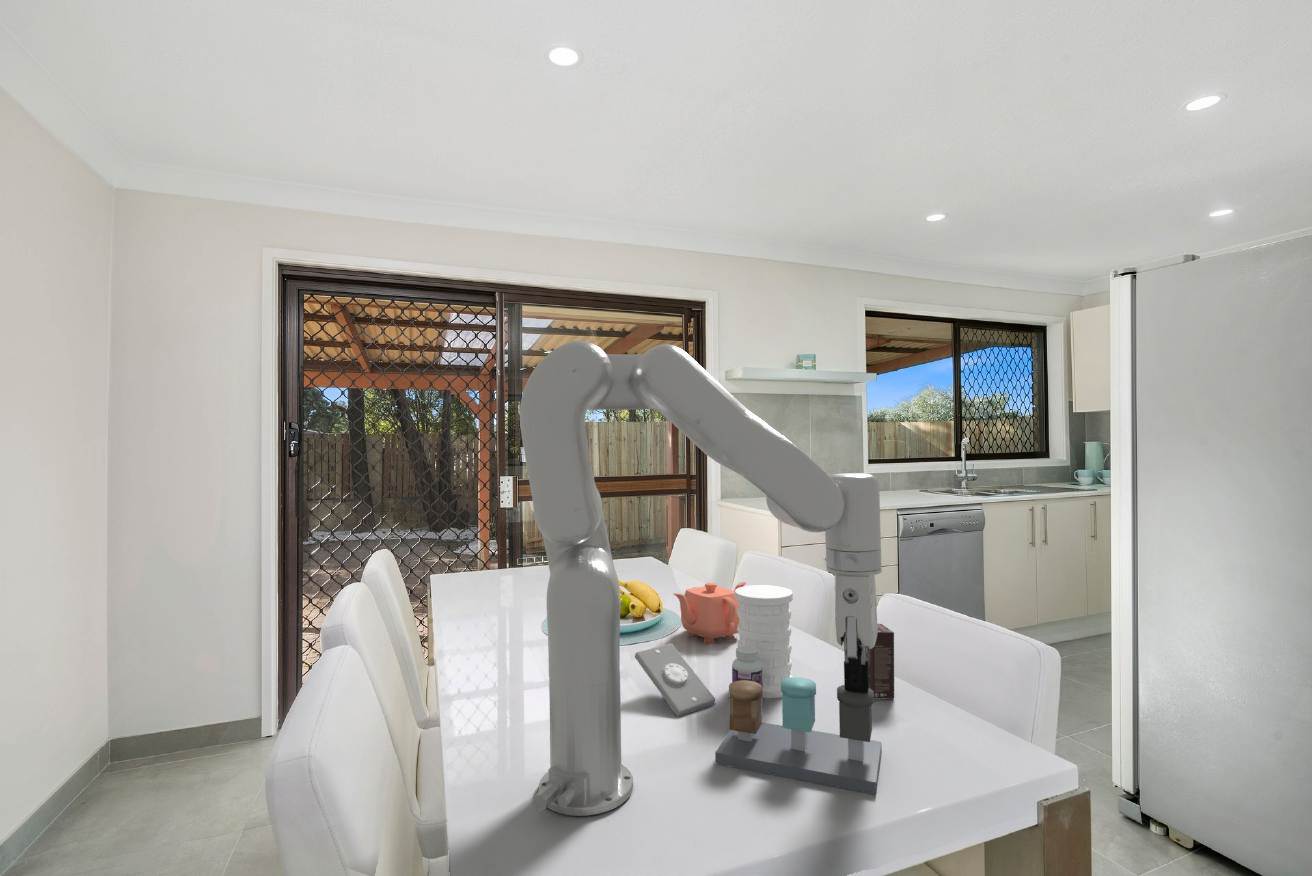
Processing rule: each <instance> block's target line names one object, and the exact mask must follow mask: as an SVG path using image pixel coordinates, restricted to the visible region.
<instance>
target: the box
mask: <svg viewBox="0 0 1312 876" xmlns="http://www.w3.org/2000/svg"><path fill="white" fill-rule="evenodd" d="M877 625H878V633H877V638H876V643H875V646H874V647H873V648H872V649H869V647H868V646H867V660H866V661H868V663H869V688H870V689H871V690H873V692H874V701H875V700H891V699H895V632H894V631H893V630H891V629H890V628H888V627H887V626H885V625H884V624H882V623H877Z"/></svg>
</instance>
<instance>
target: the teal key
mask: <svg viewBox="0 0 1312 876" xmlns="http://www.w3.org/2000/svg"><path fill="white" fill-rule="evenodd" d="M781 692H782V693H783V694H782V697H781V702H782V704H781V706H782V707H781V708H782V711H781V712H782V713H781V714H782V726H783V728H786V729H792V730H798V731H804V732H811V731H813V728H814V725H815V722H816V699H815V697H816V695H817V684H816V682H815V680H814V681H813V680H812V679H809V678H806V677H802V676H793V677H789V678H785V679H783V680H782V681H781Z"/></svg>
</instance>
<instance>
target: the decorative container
mask: <svg viewBox="0 0 1312 876" xmlns="http://www.w3.org/2000/svg"><path fill="white" fill-rule="evenodd" d="M793 593H794V592H793V590H792V589H790V588H787V587H783V586H778V585H770V584H755V585H754V584H753V585H744V586H743V587H740V588H737V589H736V590H735V599H736V600H738V601H739V607H738V610H737V614H738V618H739V624H738V627H737V630H738V633H737V634H738V635H739V639H738V641H737V648H738V647H741V646H751V647H755V648H757V649H758V653H759V657H758V660H759V661H760V662H761V663H762V668H763V669H762V674H763V675H762V677H763V699H779V698H782V694H783V693H782V692H781V681H782V680H783V679H785V678H789V677H794V676H793V675H792V674H791V670H792V666H793V664H792V659H791V657H790V655H791V653H792V650H793V648H792V644H791V641H790V637H791V634H792V627H791V625H790V619H791V615H792V611H791V609H790V603H791V602H792V601H793V598H794V597H793Z"/></svg>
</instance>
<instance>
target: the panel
mask: <svg viewBox="0 0 1312 876" xmlns="http://www.w3.org/2000/svg"><path fill="white" fill-rule="evenodd" d="M882 747H883V746H882V741H879V740H873V739H872V740H871V739H870V742H865V741H859V740H853V739H847V738H841V737H840V734H836V733H830V732H829V733H828V732H824V731H823V732H822V731H817V730H812V731H811V732H804V731H798V730H792V729H786V728H783V724H782V725H780V724H774V723H769V722H763V721H762V724H761V726H760V728H759V729H758V731H757V733H756V734H752V733H746V732H740V731H734V730H730V729H729V731H728V733H727V734H726V735H725V737H724V739H722V741H721V743H720V745H719V746H718V747H717V749H716V751H715V752H714V753H715V756H714V757H715V761H714V762H715V764H717V765H722V766H727V767H732V768H738V769H742V770H746V771H752V772H758V773H764V774H768V775H774V776H779V777H783V778H790V779H794V780H800V781H804V782H810V783H815V784H819V785H820V784H821V785H823V786H824V785H825V786H828V787H829V786H830V787H834V788H835V787H836V788H840V789H845V790H851V791H856V792H861V793H866V794H870V795H877V792H878V791H877V790H878V784H879V776H880V768H881V761H882V752H883V751H882V750H883V749H882Z"/></svg>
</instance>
